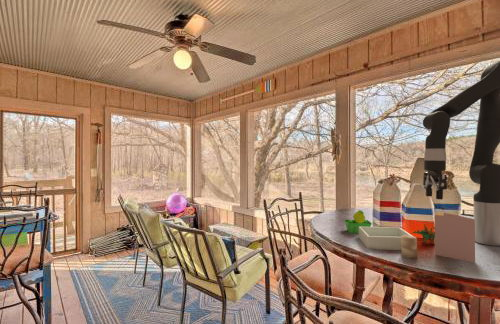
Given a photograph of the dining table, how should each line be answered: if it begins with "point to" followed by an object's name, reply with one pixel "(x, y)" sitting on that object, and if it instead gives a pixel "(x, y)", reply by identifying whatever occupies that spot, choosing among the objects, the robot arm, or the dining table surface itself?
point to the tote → (382, 237)
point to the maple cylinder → (409, 246)
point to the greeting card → (455, 237)
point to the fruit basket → (357, 222)
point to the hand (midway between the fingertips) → (433, 197)
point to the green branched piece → (426, 234)
